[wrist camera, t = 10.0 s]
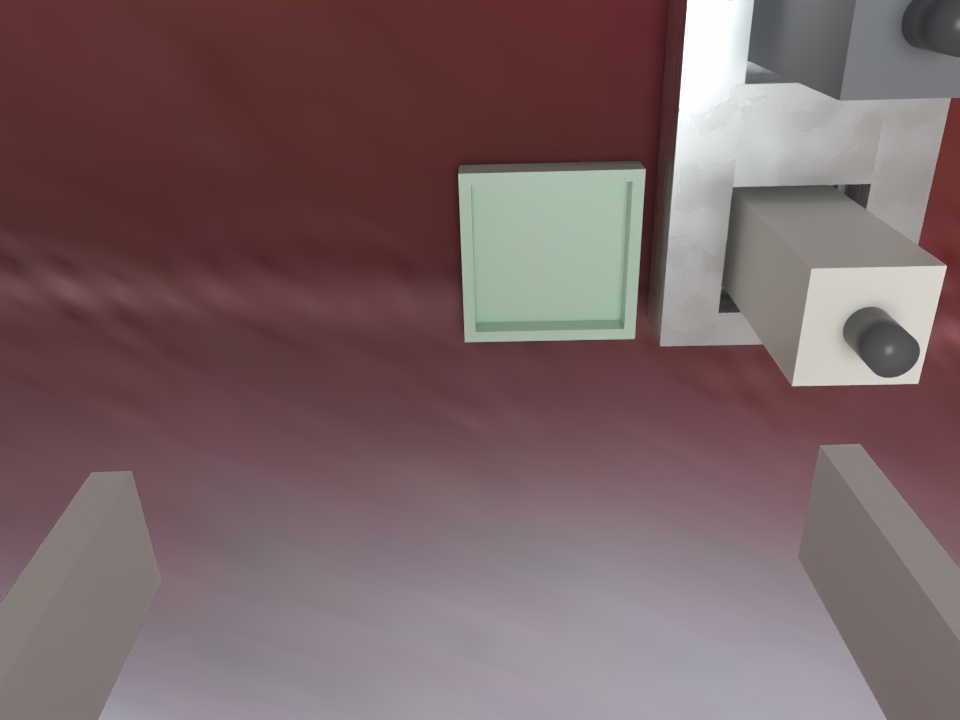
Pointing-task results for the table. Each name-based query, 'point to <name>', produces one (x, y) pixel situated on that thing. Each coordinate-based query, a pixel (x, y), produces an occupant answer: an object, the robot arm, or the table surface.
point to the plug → (830, 286)
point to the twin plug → (861, 46)
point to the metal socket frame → (761, 161)
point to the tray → (550, 250)
